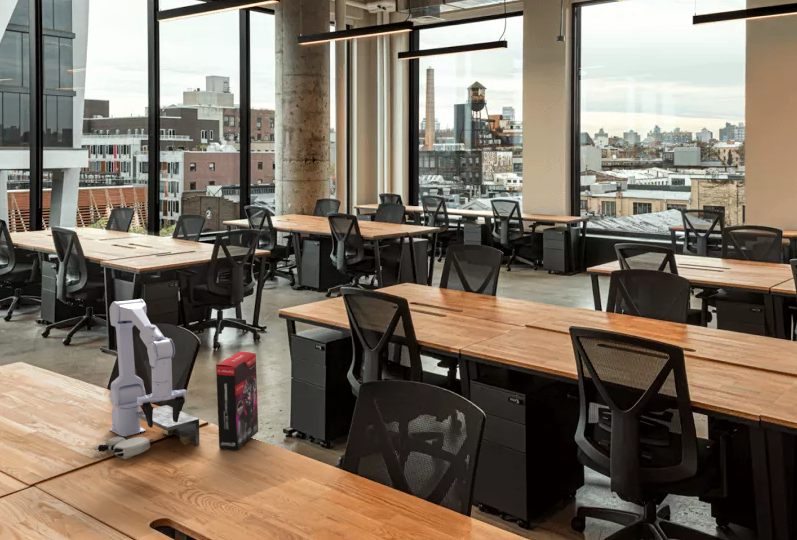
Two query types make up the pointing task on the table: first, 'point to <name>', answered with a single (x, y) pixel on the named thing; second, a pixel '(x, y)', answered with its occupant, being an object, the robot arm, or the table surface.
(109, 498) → the table surface
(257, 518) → the table surface
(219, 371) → the graphics card box
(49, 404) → the table surface
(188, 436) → the overhang shelf
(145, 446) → the robot toy
